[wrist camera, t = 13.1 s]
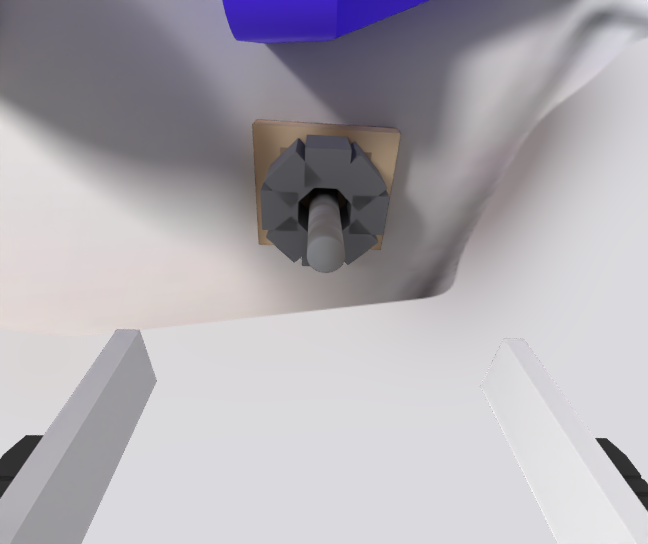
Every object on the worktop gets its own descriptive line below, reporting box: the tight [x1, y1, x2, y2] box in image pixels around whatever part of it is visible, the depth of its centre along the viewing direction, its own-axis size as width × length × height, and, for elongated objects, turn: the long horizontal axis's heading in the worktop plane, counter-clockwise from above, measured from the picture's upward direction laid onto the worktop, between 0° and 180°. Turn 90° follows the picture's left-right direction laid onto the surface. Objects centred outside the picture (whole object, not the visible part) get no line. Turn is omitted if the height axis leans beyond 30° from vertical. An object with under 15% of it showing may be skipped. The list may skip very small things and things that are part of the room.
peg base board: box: [252, 120, 401, 273], centre depth 24 cm, size 11×10×12 cm
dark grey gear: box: [260, 134, 390, 266], centre depth 26 cm, size 9×9×4 cm
